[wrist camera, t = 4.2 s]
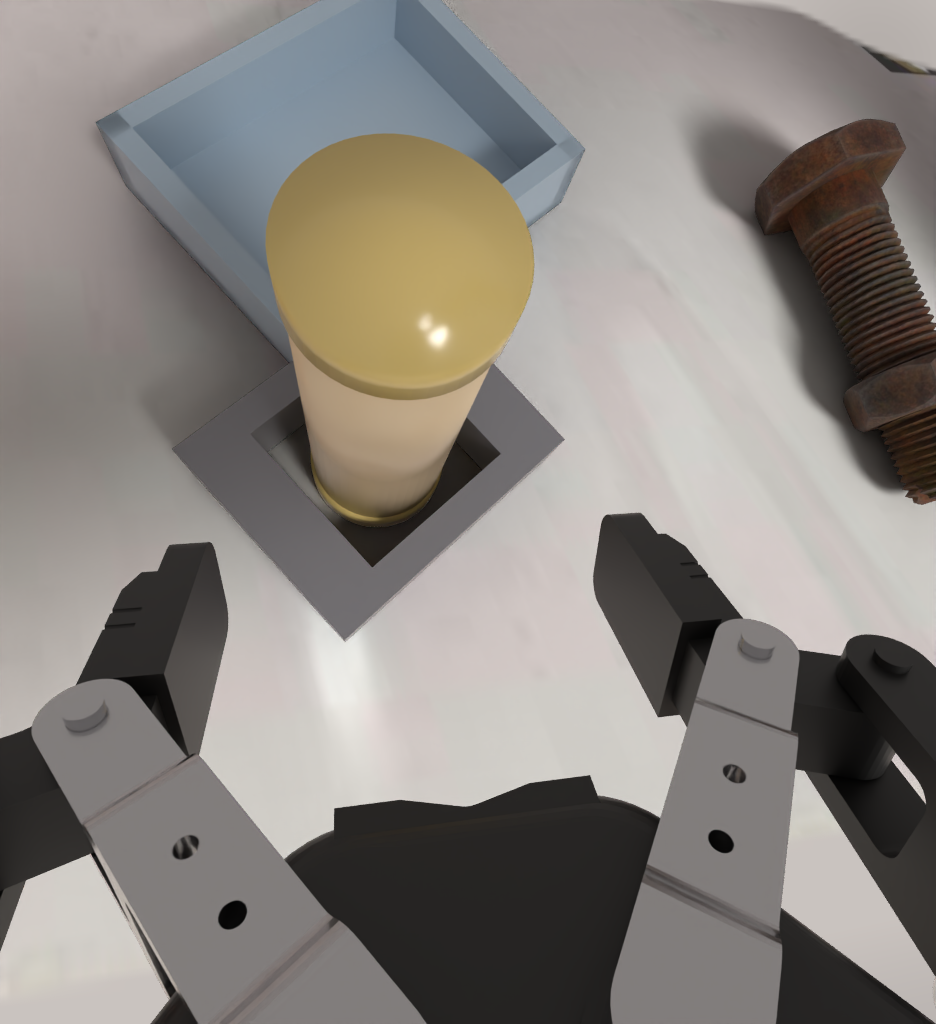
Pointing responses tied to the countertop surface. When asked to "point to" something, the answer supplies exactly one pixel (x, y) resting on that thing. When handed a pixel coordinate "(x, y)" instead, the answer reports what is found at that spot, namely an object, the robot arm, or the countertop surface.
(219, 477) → the fuse holder
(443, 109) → the parts tray
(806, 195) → the bolt
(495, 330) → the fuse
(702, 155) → the countertop surface
